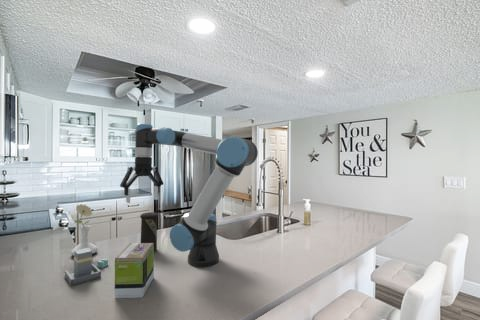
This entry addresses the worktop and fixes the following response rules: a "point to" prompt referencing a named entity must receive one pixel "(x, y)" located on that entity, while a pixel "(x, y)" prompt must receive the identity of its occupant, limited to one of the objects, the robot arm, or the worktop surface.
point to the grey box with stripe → (82, 262)
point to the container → (149, 228)
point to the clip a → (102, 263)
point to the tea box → (134, 270)
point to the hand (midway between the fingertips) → (142, 201)
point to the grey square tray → (74, 281)
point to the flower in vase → (84, 230)
